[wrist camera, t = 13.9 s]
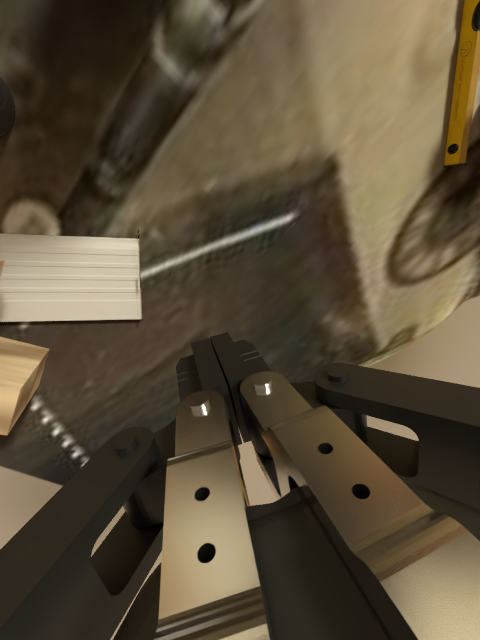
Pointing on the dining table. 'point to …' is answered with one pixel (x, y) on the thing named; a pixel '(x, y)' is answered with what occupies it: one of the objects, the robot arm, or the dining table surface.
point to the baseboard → (69, 278)
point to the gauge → (18, 377)
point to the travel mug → (6, 108)
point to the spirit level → (464, 85)
